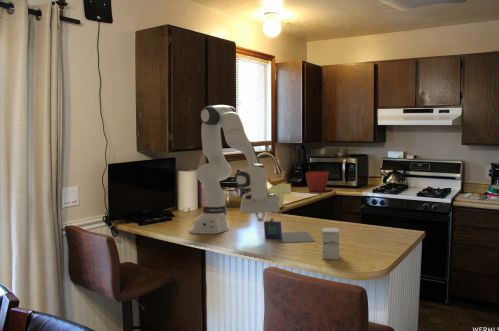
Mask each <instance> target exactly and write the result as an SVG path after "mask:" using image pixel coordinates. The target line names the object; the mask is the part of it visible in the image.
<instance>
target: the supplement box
mask: <svg viewBox="0 0 499 331" xmlns="http://www.w3.org/2000/svg"><path fill="white" fill-rule="evenodd" d="M321 229H322V231H321V241H322V242H321V244H322V245H321V249H322V250H321V256H322V260H340V229H339V227H337V228H335V227H322V228H321Z"/></svg>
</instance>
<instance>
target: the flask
mask: <svg viewBox="0 0 499 331" xmlns="http://www.w3.org/2000/svg"><path fill="white" fill-rule="evenodd" d="M274 218H275V217H271V218H270V220H268V219H267V220H263V226H264V227H263V228H264V238H265V239H268V240H269V239H270V240H271V239H275V240H276V239H277V238H278V239H279V238H282V233H283V232H282V221H281V220H274ZM278 239H277V240H278Z"/></svg>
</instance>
